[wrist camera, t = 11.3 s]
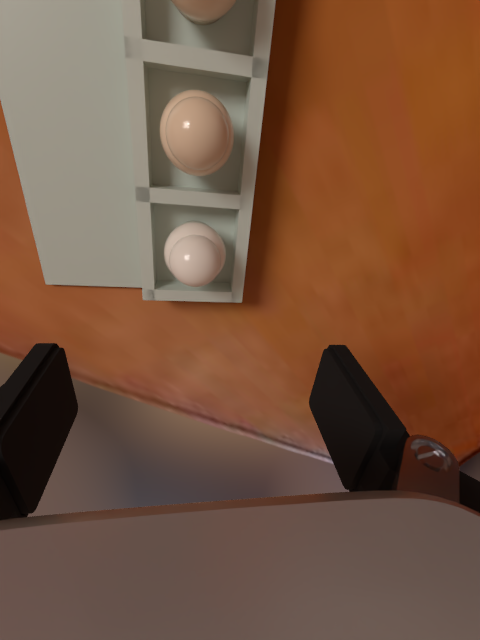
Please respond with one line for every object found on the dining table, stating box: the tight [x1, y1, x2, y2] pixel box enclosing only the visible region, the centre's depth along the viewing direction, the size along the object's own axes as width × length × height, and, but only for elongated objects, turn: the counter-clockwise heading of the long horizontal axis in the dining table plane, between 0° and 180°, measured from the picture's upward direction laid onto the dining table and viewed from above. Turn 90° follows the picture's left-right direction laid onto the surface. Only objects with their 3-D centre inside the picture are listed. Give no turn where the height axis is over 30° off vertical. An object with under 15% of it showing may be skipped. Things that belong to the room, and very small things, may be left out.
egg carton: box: [0, 0, 276, 303], centre depth 21 cm, size 25×17×3 cm
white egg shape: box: [164, 221, 226, 287], centre depth 23 cm, size 5×5×6 cm
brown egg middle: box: [160, 90, 234, 176], centre depth 19 cm, size 5×5×6 cm
